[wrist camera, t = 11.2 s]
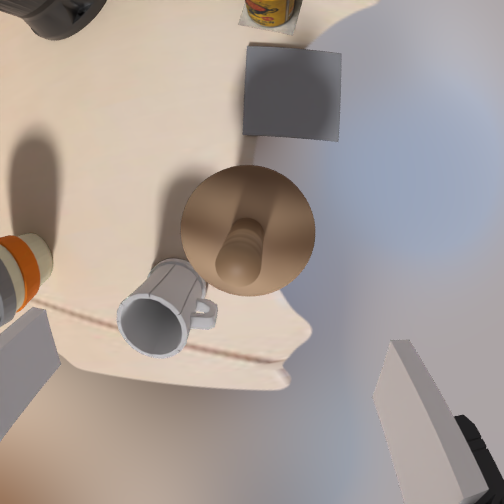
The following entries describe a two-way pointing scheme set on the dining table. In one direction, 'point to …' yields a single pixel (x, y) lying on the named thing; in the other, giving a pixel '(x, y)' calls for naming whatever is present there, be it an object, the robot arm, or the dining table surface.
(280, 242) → the lid
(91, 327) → the dining table surface
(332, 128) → the mat
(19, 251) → the reusable coffee cup
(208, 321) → the cup
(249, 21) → the condiment
